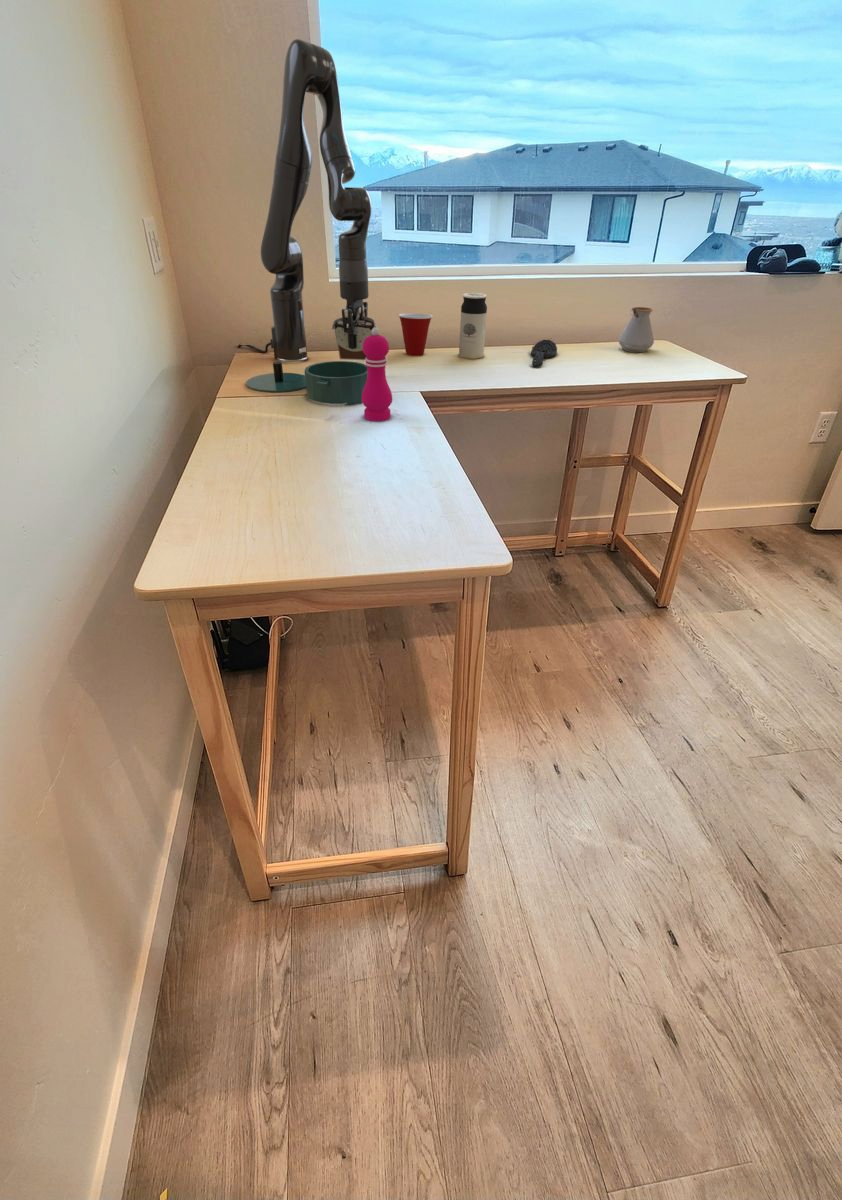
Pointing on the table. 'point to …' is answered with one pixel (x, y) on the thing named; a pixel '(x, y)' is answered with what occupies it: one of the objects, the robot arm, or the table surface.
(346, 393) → the pot
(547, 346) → the hairbrush
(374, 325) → the food container
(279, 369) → the pot lid
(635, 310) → the coffee pot
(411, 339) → the plastic cup
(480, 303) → the travel mug
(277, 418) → the table surface
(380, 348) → the pepper mill
